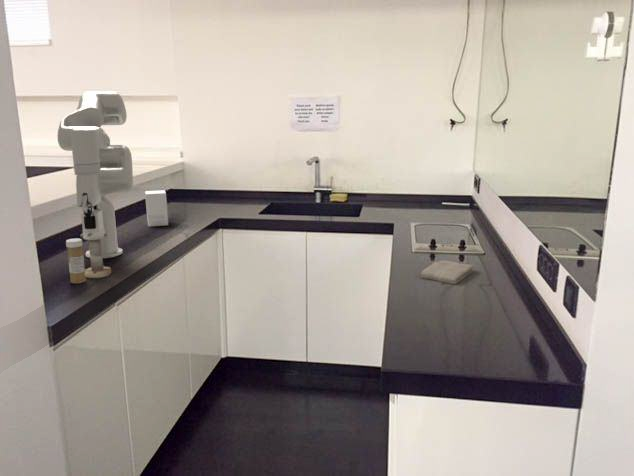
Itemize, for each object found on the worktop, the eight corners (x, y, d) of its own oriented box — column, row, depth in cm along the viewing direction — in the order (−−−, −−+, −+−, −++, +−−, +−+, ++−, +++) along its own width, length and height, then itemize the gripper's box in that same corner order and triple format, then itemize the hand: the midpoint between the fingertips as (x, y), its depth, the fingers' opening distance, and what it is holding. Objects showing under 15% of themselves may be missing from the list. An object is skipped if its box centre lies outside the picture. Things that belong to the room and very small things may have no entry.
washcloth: (474, 272, 179) (475, 263, 178) (455, 286, 165) (456, 277, 164) (440, 266, 186) (441, 257, 185) (419, 279, 171) (420, 270, 170)
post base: (88, 270, 176) (85, 235, 174) (113, 270, 177) (110, 235, 174) (81, 278, 169) (77, 241, 166) (107, 277, 170) (104, 241, 167)
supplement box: (167, 221, 251) (165, 189, 247) (168, 225, 242) (166, 192, 239) (147, 222, 248) (144, 190, 244) (147, 226, 240) (145, 193, 236)
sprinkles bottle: (73, 279, 168) (68, 238, 165) (88, 279, 168) (84, 237, 165) (68, 284, 164) (63, 241, 160) (83, 283, 164) (79, 241, 161)
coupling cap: (84, 235, 173) (81, 209, 171) (109, 234, 174) (107, 209, 172) (75, 242, 164) (72, 214, 162) (102, 241, 165) (100, 214, 163)
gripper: (83, 166, 173) (88, 221, 177) (65, 172, 156) (72, 233, 161) (107, 165, 173) (112, 220, 178) (92, 172, 157) (98, 232, 161)
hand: (93, 226), depth 169 cm, fingers closed on coupling cap, 5 cm apart
